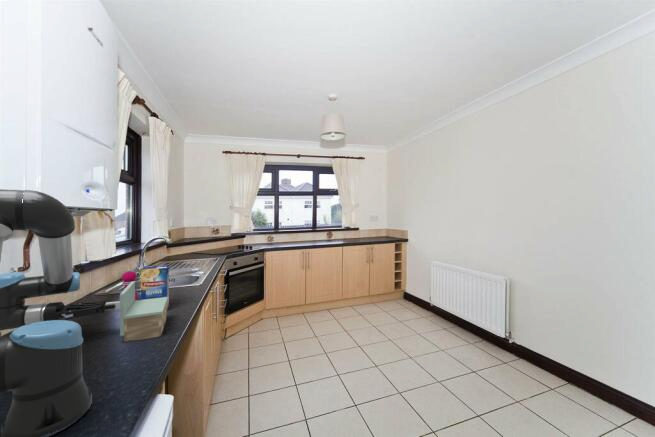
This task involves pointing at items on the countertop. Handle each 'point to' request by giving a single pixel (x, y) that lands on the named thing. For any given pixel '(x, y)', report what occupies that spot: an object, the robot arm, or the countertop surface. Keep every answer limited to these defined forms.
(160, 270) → the blue food box
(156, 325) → the wooden box
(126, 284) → the pepper mill
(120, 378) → the countertop surface
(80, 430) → the countertop surface
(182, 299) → the countertop surface
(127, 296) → the grey-green angled piece
